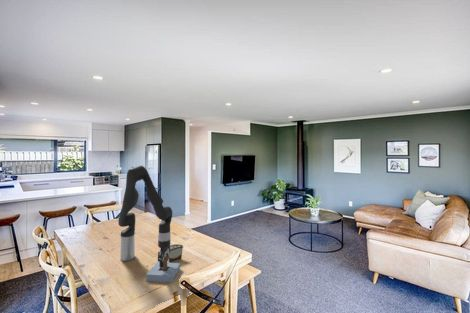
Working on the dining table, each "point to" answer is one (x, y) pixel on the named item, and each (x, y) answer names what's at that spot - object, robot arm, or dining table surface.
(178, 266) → the socket block
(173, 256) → the food container
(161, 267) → the walnut peg
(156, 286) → the dining table surface
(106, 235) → the dining table surface
